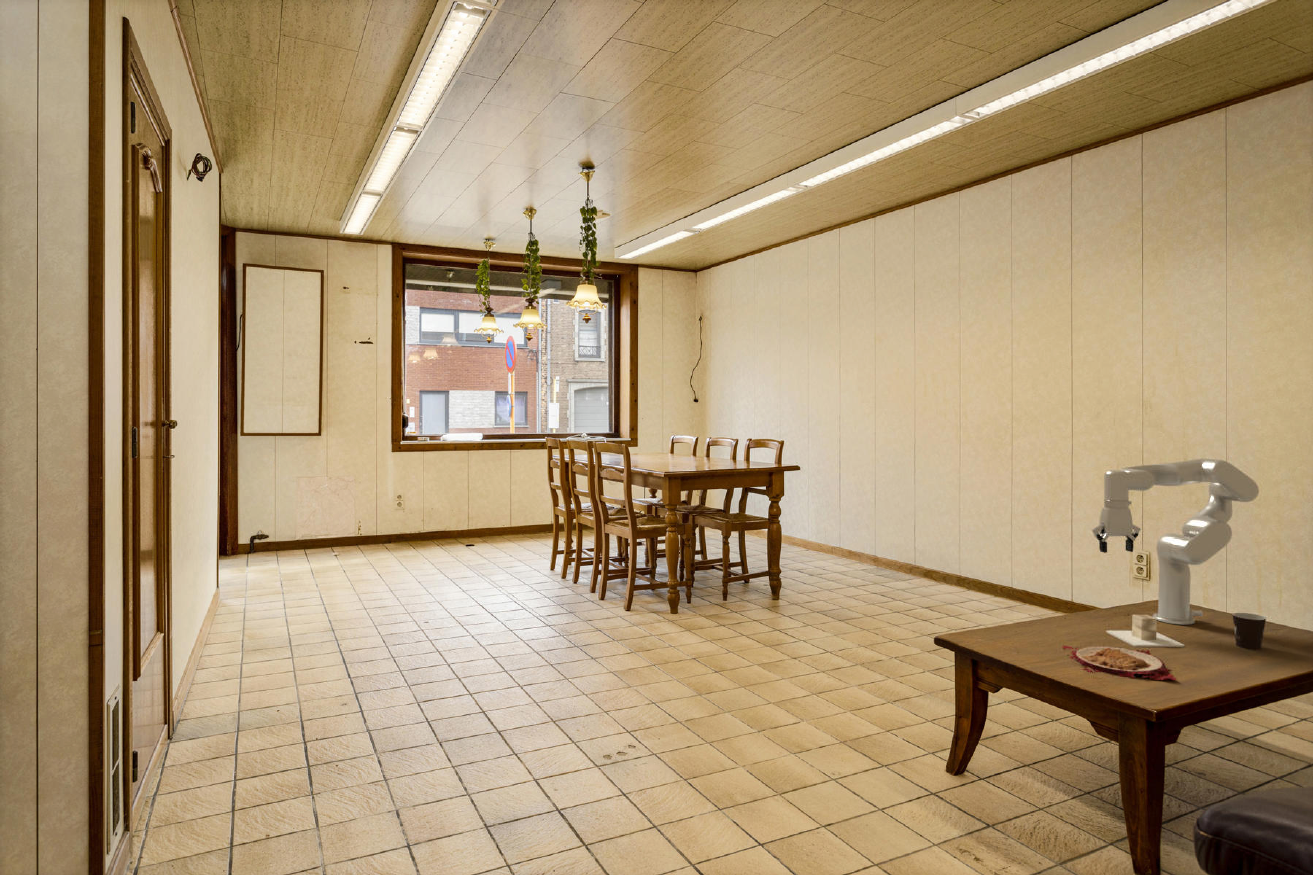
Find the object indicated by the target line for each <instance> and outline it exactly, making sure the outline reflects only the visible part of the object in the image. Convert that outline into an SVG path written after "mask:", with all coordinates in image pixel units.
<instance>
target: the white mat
mask: <svg viewBox="0 0 1313 875" xmlns="http://www.w3.org/2000/svg"><path fill="white" fill-rule="evenodd" d="M1106 633H1107V634H1109V635H1111V636H1113V637H1115V638H1117V639H1119V640H1121V641H1123V642H1125V643H1127V644H1129V645H1131V646H1132V647H1135V648H1138V647H1140V648H1141V647H1142V648H1144V647H1148V648H1149V647H1157V648H1158V647H1163V648H1164V647H1165V648H1166V647H1168V648H1169V647H1171V648H1172V647H1176V648H1177V647H1181V648H1183V647H1185V644H1183V643H1181V642H1179V641H1177V640H1174V639H1172V638H1170V637H1168V636H1166V635H1163V634H1162V633H1159V632H1157V631H1156V640H1141V639H1139V638H1137V637H1134V636H1132V630H1106Z"/></svg>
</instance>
